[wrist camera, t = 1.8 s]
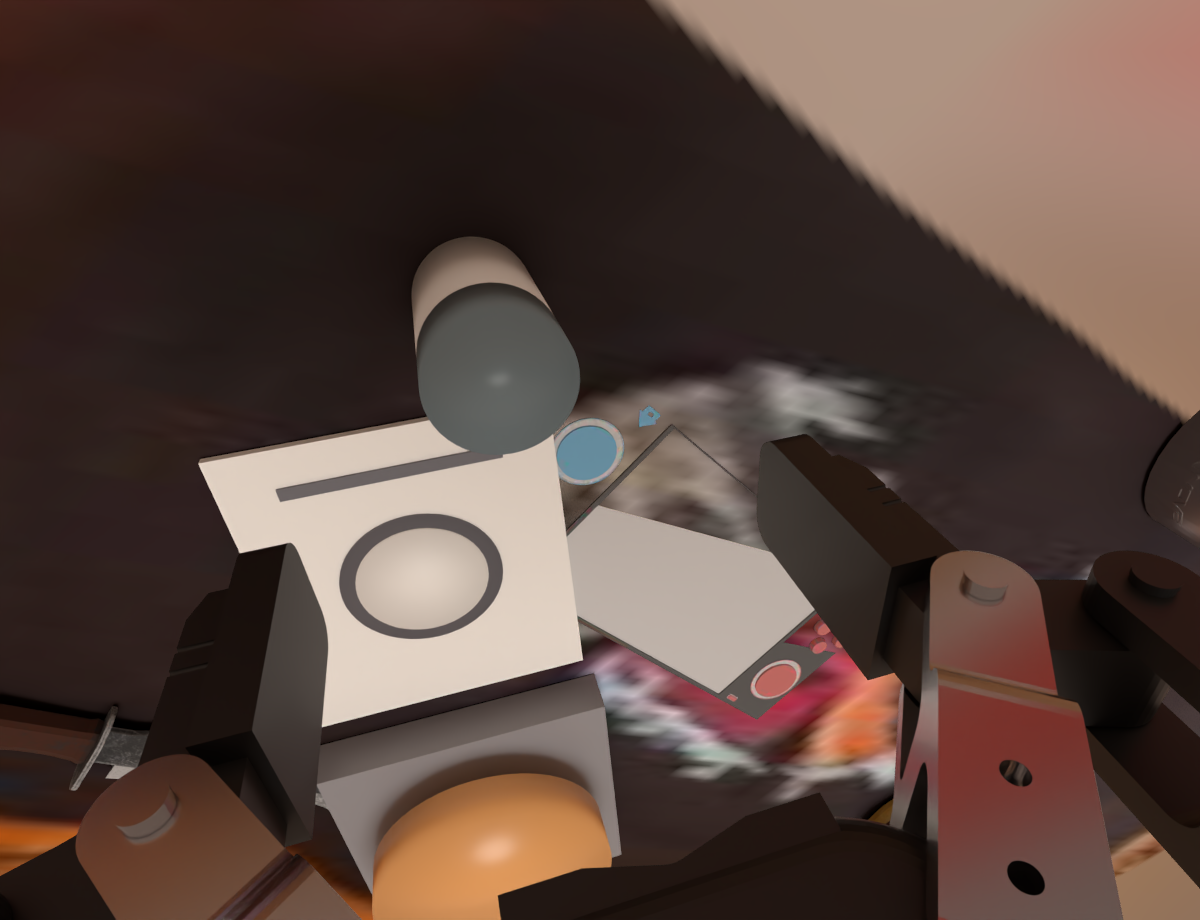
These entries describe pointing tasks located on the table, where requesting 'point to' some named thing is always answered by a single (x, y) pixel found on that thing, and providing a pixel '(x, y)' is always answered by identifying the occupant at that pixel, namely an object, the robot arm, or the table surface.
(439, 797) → the button
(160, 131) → the table surface
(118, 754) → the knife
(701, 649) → the gaming console
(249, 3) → the table surface
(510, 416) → the beige capped tube
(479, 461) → the paper
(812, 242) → the table surface
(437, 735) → the button base
